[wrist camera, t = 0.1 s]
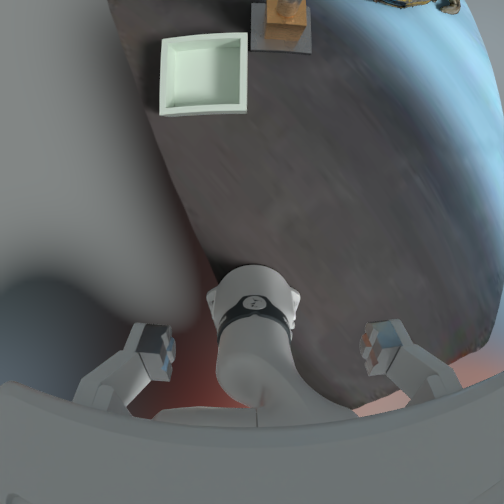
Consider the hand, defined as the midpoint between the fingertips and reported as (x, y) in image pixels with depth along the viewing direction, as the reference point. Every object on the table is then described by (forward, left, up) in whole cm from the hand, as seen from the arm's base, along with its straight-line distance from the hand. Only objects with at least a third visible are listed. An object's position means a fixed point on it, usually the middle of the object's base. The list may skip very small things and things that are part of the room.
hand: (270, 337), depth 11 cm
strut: (+28, -4, -38) cm, 47 cm away
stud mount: (+28, -4, -39) cm, 48 cm away
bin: (+18, +8, -39) cm, 44 cm away
